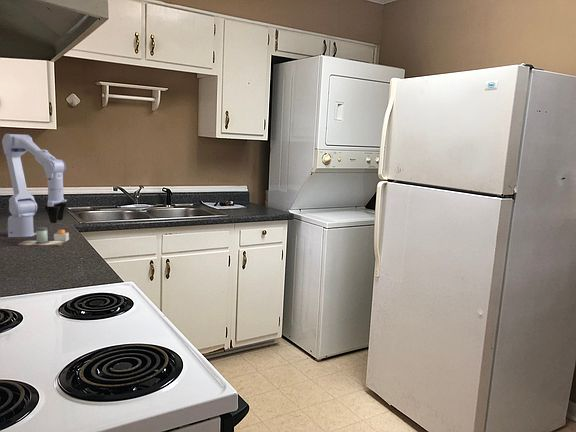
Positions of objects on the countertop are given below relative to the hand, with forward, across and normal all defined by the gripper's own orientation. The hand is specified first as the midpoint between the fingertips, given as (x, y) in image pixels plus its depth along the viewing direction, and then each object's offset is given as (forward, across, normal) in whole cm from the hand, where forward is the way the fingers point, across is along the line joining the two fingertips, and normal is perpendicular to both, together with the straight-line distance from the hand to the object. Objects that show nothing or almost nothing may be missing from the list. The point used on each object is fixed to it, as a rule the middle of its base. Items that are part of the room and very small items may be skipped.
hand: (56, 221), depth 201 cm
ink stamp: (+8, -5, +4) cm, 10 cm away
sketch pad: (+8, -5, +4) cm, 11 cm away
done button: (+7, +2, -1) cm, 7 cm away
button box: (+8, +2, -1) cm, 9 cm away
